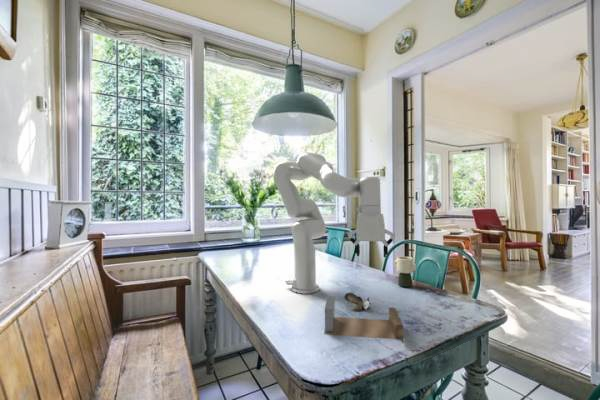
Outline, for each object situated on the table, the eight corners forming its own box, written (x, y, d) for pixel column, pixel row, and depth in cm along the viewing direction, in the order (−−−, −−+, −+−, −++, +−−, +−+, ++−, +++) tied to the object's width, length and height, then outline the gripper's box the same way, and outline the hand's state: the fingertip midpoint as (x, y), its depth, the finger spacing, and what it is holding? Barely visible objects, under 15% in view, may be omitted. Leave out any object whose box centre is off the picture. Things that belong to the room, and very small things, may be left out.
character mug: (420, 287, 125) (420, 258, 125) (411, 290, 120) (411, 261, 120) (399, 281, 133) (399, 255, 133) (390, 284, 129) (390, 257, 129)
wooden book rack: (324, 339, 80) (323, 320, 80) (327, 321, 92) (326, 304, 92) (403, 344, 77) (402, 325, 77) (395, 325, 88) (395, 308, 88)
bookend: (325, 332, 81) (324, 308, 81) (327, 317, 91) (327, 296, 91) (333, 332, 81) (332, 309, 81) (334, 318, 91) (334, 297, 91)
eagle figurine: (366, 303, 104) (342, 299, 104) (371, 291, 100) (346, 287, 100) (367, 322, 97) (342, 317, 98) (373, 310, 94) (346, 305, 94)
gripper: (345, 210, 102) (346, 257, 102) (394, 210, 96) (396, 259, 96) (348, 210, 109) (349, 253, 109) (394, 209, 103) (395, 255, 103)
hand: (371, 256), depth 103 cm, fingers open, 9 cm apart
